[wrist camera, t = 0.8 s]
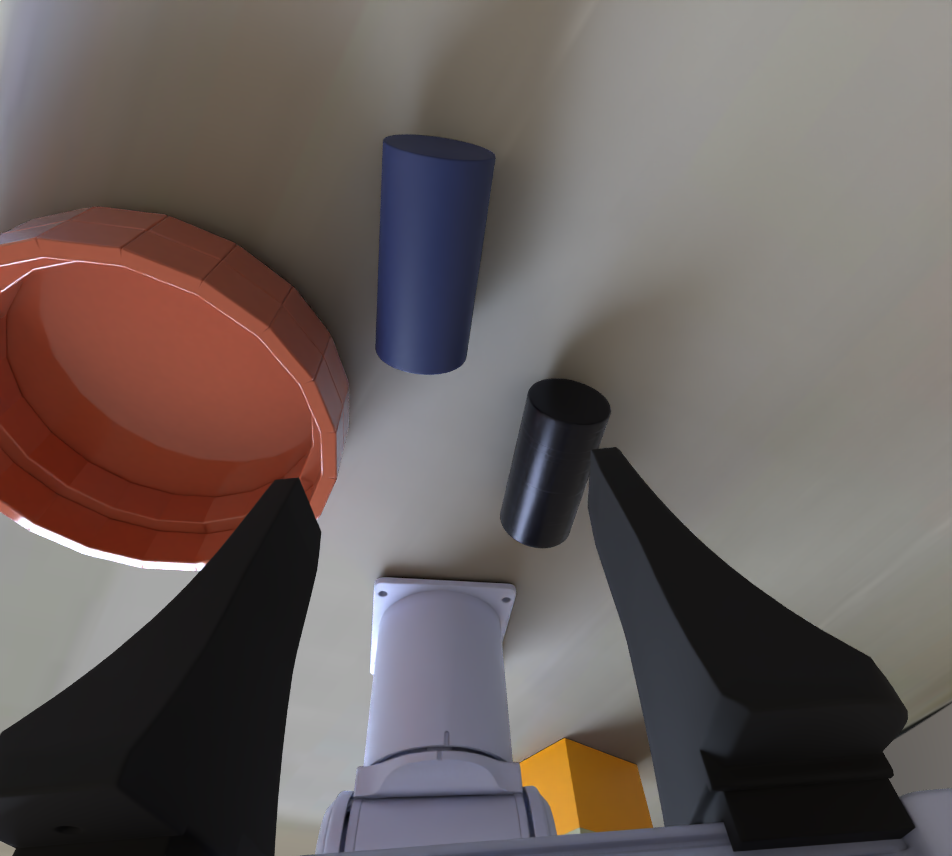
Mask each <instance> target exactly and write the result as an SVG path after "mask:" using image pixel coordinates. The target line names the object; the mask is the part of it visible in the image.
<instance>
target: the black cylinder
mask: <svg viewBox="0 0 952 856" xmlns="http://www.w3.org/2000/svg"><path fill="white" fill-rule="evenodd" d="M610 414H611V409H610V405H609V402H608V401H607V399H606V398H605V397H604V396H603V395H602V394H601V393H599V392H598V391H596V390H595V389H593V388H591V387H589V386H587V385H585V384H582V383H579V382H576V381H572V380H567V379H546V380H542V381H539V382H537V383H535V384H534V385H533V386H532V387H531V388H530V389H529V391H528V395H527V399H526V404H525V408H524V412H523V417H522V421H521V425H520V430H519V434H518V439H517V443H516V447H515V452H514V456H513V460H512V465H511V469H510V473H509V478H508V482H507V486H506V491H505V495H504V499H503V504H502V508H501V513H500V519H501V523H502V526H503V528H504V529H505V531H506V532H507V533H508V534H509V535H510V536H511V537H512V538H513V539H515V540H516V541H518V542H520V543H522V544H524V545H527V546H530V547H535V548H551V547H555V546H557V545H559V544H561V543H562V542H564V541H565V540H566V539H567V537H568V536H569V533H570V530H571V528H572V525H573V522H574V519H575V516H576V513H577V510H578V507H579V504H580V501H581V498H582V495H583V493H584V490H585V487H586V484H587V481H588V478H589V475H590V457H591V450H592V449H599V446H600V443H601V440H602V437H603V434H604V431H605V428H606V425H607V422H608V420H609V417H610Z"/></svg>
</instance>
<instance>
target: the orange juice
mask: <svg viewBox="0 0 952 856" xmlns="http://www.w3.org/2000/svg"><path fill="white" fill-rule="evenodd" d="M519 764H520V768H521V778H522V787H524V786H535V787H536V788H537V789H538V791H539V793H540V794H541V795H542V797H543V798H544V799H545V800H546V801H547V802H548V804H549V806H550V808H551V811H552V815H553V818H554V823H555V827H556V832H557V835H568V834H581V833H593V832H606V831H619V830H631V829H644V828H653V826H652V822H651V818H650V814H649V810H648V806H647V802H646V798H645V795H644V791H643V787H642V783H641V779H640V775H639V771H638V767H637V765H635V764H633V763H630V762H627V761H625V760H622V759H619V758H617V757H614V756H612V755H609V754H606V753H604V752H601V751H598V750H596V749H593V748H590V747H588V746H585V745H582V744H580V743H577V742H574V741H572V740H569V739H566V738H563V739H562V740H560V741H558V742H556V743H555V744H553V745H551V746H549V747H547V748H546V749H544V750H542V751H540V752H539V753H537V754H535V755H533V756H531V757H530V758H528V759H526V760H524V761H522V762H521V763H519Z"/></svg>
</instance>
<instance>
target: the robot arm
mask: <svg viewBox="0 0 952 856" xmlns="http://www.w3.org/2000/svg"><path fill="white" fill-rule="evenodd" d="M588 511H589V516H590V521H591V526H592V531H593V536H594V540H595V545H596V548H597V551H598V554H599V557H600V560H601V563H602V566H603V569H604V572H605V575H606V578H607V581H608V584H609V587H610V590H611V593H612V596H613V599H614V602H615V605H616V608H617V611H618V614H619V617H620V620H621V623H622V627H623V630H624V633H625V637H626V640H627V644H628V649H629V653H630V657H631V662H632V666H633V671H634V675H635V679H636V684H637V689H638V693H639V698H640V702H641V707H642V712H643V716H644V721H645V726H646V731H647V736H648V741H649V746H650V751H651V756H652V761H653V766H654V771H655V776H656V782H657V787H658V793H659V798H660V803H661V809H662V814H663V820H664V825H665V827H657V828H644V829H631V830H619V831H606V832H593V833H581V834H568V835H557V832H556V827H555V823H554V818H553V815H552V811H551V808H550V806H549V804H548V802H547V801H546V800H545V799H544V798H543V797H542V795H541V794H540V793H539V791H538V789H537V788H536V787H535V786H524V787H522V778H521V768H520V764H519V763H517V762H513V758H512V747H511V736H510V725H509V714H508V703H507V693H506V682H505V671H504V660H503V649H502V642H503V639H504V635H505V632H506V628H507V625H508V621H509V618H510V614H511V611H512V607H513V604H514V600H515V597H516V587H515V586H514V585H512V584H505V583H486V582H468V581H449V580H430V579H411V578H392V577H381V578H378V579H377V580H375V584H374V600H373V621H372V641H371V661H370V673H371V674H373V675H374V676H373V685H372V695H371V704H370V713H369V722H368V731H367V740H366V749H365V758H364V766H359V767H358V768H357V771H356V780H355V788H354V791H341V792H340V793H339V794H338V796H337V798H336V800H334V802H333V803H332V804H331V805H330V806H329V807H328V808H327V810H326V812H325V814H324V817H323V820H322V824H321V828H320V832H319V836H318V841H317V846H316V852H315V855H302V856H952V788H947V789H934V790H923V791H916V792H911V793H908V794H905V795H902V796H900V797H898V795H897V793H896V792H895V790H894V788H893V786H892V784H891V782H890V781H889V779H888V778H892V777H893V776H894V774H893V769H892V767H891V766H890V764H889V762H888V760H887V759H886V757H885V755H884V753H883V752H882V751H883V750H884V749H885V748H886V747H887V746H888V745H889V744H890V743H891V742H892V741H893V740H894V739H895V737H896V736H897V735H898V734H899V733H900V732H901V731H902V729H903V728H904V726H905V724H906V722H907V720H908V711H907V709H906V707H905V706H904V704H903V703H902V701H901V700H900V698H899V696H898V695H897V693H896V692H895V690H894V688H893V687H892V686H891V684H890V683H889V681H888V680H887V678H886V677H885V676H884V674H883V673H882V672H881V671H880V669H879V668H878V667H877V666H876V664H875V663H874V661H873V660H872V659H871V657H869V656H867V655H865V654H864V653H862V652H860V651H858V650H857V649H855V648H853V647H851V646H849V645H848V644H846V643H844V642H842V641H840V640H839V639H837V638H835V637H833V636H832V635H830V634H828V633H826V632H824V631H823V630H821V629H819V628H818V627H816V626H814V625H813V624H811V623H810V622H808V621H806V620H805V619H803V618H802V617H800V616H798V615H797V614H795V613H794V612H792V611H791V610H789V609H787V608H786V607H785V606H783V605H782V604H780V603H779V602H777V601H776V600H775V599H773V598H772V597H770V596H769V595H768V594H766V593H765V592H763V591H762V590H761V589H759V588H758V587H756V586H755V585H753V584H752V583H751V582H749V581H748V580H747V579H746V578H744V577H743V576H742V575H740V574H739V573H738V572H737V571H735V570H734V569H733V568H732V567H730V566H729V565H728V564H727V563H726V562H724V561H723V560H722V559H721V558H720V557H718V556H717V555H716V554H715V553H714V552H713V551H711V550H710V549H709V548H708V547H707V546H706V545H705V544H704V543H703V542H702V541H700V540H699V539H698V538H697V537H696V536H695V535H694V534H693V533H692V532H691V531H690V530H689V529H688V528H687V527H686V526H685V525H684V524H683V523H682V522H681V521H680V520H679V519H678V518H677V517H676V516H675V515H674V514H673V513H672V512H671V511H670V510H669V509H668V507H667V506H666V505H665V504H664V503H663V502H662V501H661V500H660V499H659V498H658V497H657V495H656V494H655V493H654V492H653V491H652V490H651V489H650V487H649V486H648V485H647V484H646V483H645V482H644V480H643V479H642V478H641V477H640V476H639V474H638V473H637V472H636V471H635V469H634V468H633V467H632V466H631V464H630V463H629V462H628V460H627V459H626V458H625V456H624V455H623V454H622V452H621V451H620V450H619V449H618V448H616V447H613V448H602V449H592V450H591V457H590V475H589V493H588ZM320 539H321V530H320V528H319V525H318V523H317V520H316V518H315V515H314V513H313V511H312V508H311V506H310V503H309V501H308V498H307V496H306V493H305V491H304V488H303V486H302V484H301V481H300V479H299V477H298V478H287V479H277V480H274V481H273V483H272V484H271V485H270V486H269V487H268V489H267V490H266V491H265V492H264V494H263V495H262V496H261V498H260V499H259V500H258V501H257V503H256V504H255V505H254V507H253V508H252V509H251V510H250V512H249V513H248V514H247V515H246V517H245V518H244V519H243V521H242V522H241V523H240V524H239V526H238V527H237V528H236V529H235V531H234V532H233V533H232V534H231V535H230V537H229V538H228V539H227V540H226V542H225V543H224V544H223V545H222V546H221V548H220V549H219V550H218V551H217V552H216V554H215V555H214V556H213V557H212V558H211V559H210V560H209V562H208V563H207V564H206V565H205V566H204V567H203V568H202V569H201V571H200V572H199V573H198V574H197V575H196V576H195V577H194V578H193V579H192V581H191V582H190V583H189V584H188V585H187V586H186V587H185V588H184V589H183V590H182V591H181V592H180V593H179V594H178V595H177V596H176V597H175V598H174V599H173V600H172V601H171V602H170V603H169V604H168V605H167V606H166V607H165V608H164V609H162V610H161V611H160V612H159V613H158V614H157V615H156V616H155V617H154V618H153V619H152V620H151V621H150V622H148V623H147V624H146V625H145V626H144V627H143V628H141V629H140V630H139V631H138V632H137V633H136V634H134V635H133V636H132V637H131V638H130V639H129V640H127V641H126V642H125V643H124V644H123V645H122V646H121V647H119V648H118V649H117V650H116V651H115V652H113V653H112V654H111V655H110V656H108V657H107V658H106V659H105V660H103V661H102V662H101V663H99V664H98V665H97V666H96V667H94V668H93V669H92V670H91V671H89V672H88V673H86V674H85V675H84V676H82V677H81V678H80V679H78V680H77V681H76V682H74V683H73V684H72V685H70V686H69V687H68V688H66V689H65V690H63V691H62V692H61V693H59V694H58V695H56V696H55V697H54V698H52V699H51V700H49V701H48V702H46V703H45V704H43V705H42V706H40V707H39V708H37V709H36V710H34V711H33V712H31V713H30V714H28V715H27V716H25V717H24V718H22V719H21V720H20V721H18V722H17V723H15V724H14V725H12V726H10V727H9V728H7V729H6V730H4V731H3V732H2V733H1V734H0V841H2V842H4V843H6V844H8V845H10V846H12V847H14V848H16V850H15V852H14V854H13V856H274V854H275V836H276V822H277V807H278V794H279V783H280V773H281V762H282V751H283V743H284V734H285V726H286V718H287V709H288V702H289V695H290V688H291V681H292V674H293V669H294V664H295V659H296V654H297V650H298V646H299V642H300V638H301V634H302V630H303V626H304V622H305V618H306V614H307V610H308V606H309V602H310V598H311V593H312V589H313V585H314V581H315V577H316V572H317V566H318V558H319V550H320Z"/></svg>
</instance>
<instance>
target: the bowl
mask: <svg viewBox="0 0 952 856" xmlns="http://www.w3.org/2000/svg"><path fill="white" fill-rule="evenodd" d="M348 429H349V382H348V379H347V376H346V373H345V371H344V368H343V365H342V363H341V360H340V357H339V355H338V352H337V349H336V346H335V344H334V341H333V338H332V336H331V334H330V333H329V331H328V330H327V329H326V327H325V326H324V325H323V323H322V322H321V321H320V320H319V318H318V317H317V316H316V314H315V313H314V312H313V311H312V309H311V308H310V307H309V305H308V304H307V303H306V301H305V300H304V299H303V298H302V296H301V295H300V294H299V292H298V291H297V290H296V289H295V287H294V286H293V287H292V285H291V284H290V283H288V282H287V281H286V280H284V279H283V278H282V277H280V276H279V275H278V274H276V273H275V272H274V271H272V270H271V269H270V268H268V267H267V266H266V265H264V264H263V263H262V262H260V261H259V260H258V259H256V258H255V257H254V256H252V255H251V254H250V253H249V252H247V251H246V250H245V249H243V248H242V247H241V246H239V245H236V244H235V243H234V242H231V241H229V240H227V239H224V238H222V237H219V236H217V235H215V234H212V233H210V232H207V231H205V230H203V229H200V228H198V227H195V226H193V225H191V224H188V223H186V222H183V221H181V220H179V219H176V218H174V217H171V216H167V215H165V214H157V213H149V212H141V211H133V210H124V209H116V208H108V207H100V206H97V207H88V208H83V209H78V210H73V211H69V212H64V213H59V214H54V215H49V216H44V217H40V218H35V219H32V220H30V221H27V222H25V223H23V224H21V225H19V226H17V227H15V228H13V229H11V230H8V231H6V232H4V233H2V234H0V512H1V513H3V514H4V515H6V516H7V517H9V518H10V519H12V520H13V521H15V522H16V523H18V524H19V525H21V526H22V527H24V528H25V529H28V530H29V531H31V532H33V533H35V534H38V535H40V536H42V537H45V538H47V539H49V540H52V541H54V542H56V543H59V544H61V545H63V546H66V547H68V548H70V549H73V550H75V551H77V552H80V553H82V554H86V555H89V556H93V557H97V558H101V559H106V560H110V561H114V562H118V563H122V564H127V565H131V566H135V567H139V568H145V569H164V570H183V571H197V570H198V571H201V569H202V568H203V567H204V566H205V565H206V564H207V563H208V562H209V560H210V559H211V558H212V557H213V556H214V555H215V554H216V552H217V551H218V550H219V549H220V548H221V546H222V545H223V544H224V543H225V542H226V540H227V539H228V538H229V537H230V535H231V534H232V533H233V532H234V531H235V529H236V528H237V527H238V526H239V524H240V523H241V522H242V521H243V519H244V518H245V517H246V515H247V514H248V513H249V512H250V510H251V509H252V508H253V507H254V505H255V504H256V503H257V501H258V500H259V499H260V498H261V496H262V495H263V494H264V492H265V491H266V490H267V489H268V487H269V486H270V485H271V484H272V483H273V481H274V480H277V479H287V478H298V477H299V479H300V481H301V484H302V486H303V488H304V491H305V493H306V496H307V498H308V501H309V503H310V506H311V508H312V511H313V513H314V515H315V518H316V520H317V519H318V518H319V517H320V515H321V513H322V511H323V509H324V506H325V504H326V502H327V500H328V497H329V495H330V493H331V491H332V489H333V486H334V484H335V482H336V480H337V476H338V471H339V467H340V463H341V459H342V455H343V450H344V446H345V442H346V437H347V433H348Z"/></svg>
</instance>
